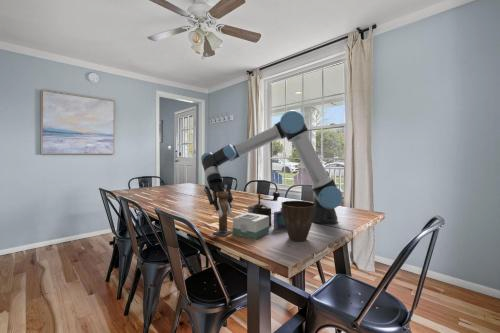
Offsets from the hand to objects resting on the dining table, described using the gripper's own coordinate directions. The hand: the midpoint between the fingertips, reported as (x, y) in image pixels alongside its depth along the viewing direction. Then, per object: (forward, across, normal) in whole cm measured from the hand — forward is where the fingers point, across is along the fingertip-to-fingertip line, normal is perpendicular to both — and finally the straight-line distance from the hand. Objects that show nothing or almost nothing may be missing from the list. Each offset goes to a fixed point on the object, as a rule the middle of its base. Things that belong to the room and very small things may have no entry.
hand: (226, 215), depth 114 cm
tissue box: (+8, -12, -5) cm, 16 cm away
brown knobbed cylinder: (+3, 0, -8) cm, 9 cm away
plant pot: (+21, -27, +6) cm, 35 cm away
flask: (+9, -30, -5) cm, 31 cm away
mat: (+4, 0, -10) cm, 10 cm away
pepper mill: (+1, -26, -13) cm, 29 cm away
